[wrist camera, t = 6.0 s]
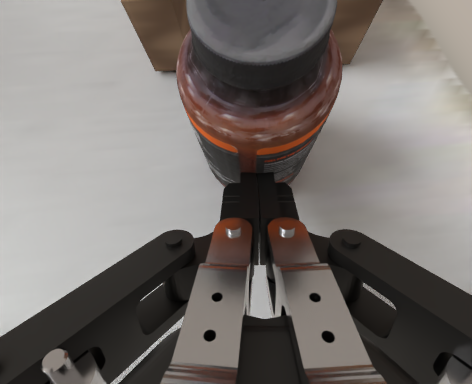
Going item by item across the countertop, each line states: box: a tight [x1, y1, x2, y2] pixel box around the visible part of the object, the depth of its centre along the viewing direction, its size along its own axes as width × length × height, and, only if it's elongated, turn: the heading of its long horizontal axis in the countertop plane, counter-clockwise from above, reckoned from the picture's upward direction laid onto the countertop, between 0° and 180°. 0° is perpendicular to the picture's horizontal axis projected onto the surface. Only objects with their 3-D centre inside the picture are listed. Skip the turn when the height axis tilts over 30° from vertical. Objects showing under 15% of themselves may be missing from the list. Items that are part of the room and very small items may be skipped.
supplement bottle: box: [176, 0, 342, 187], centre depth 13 cm, size 6×6×11 cm
